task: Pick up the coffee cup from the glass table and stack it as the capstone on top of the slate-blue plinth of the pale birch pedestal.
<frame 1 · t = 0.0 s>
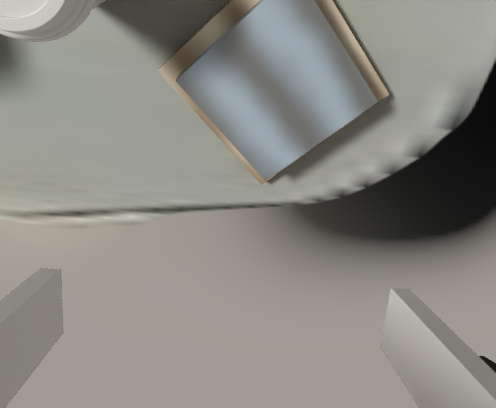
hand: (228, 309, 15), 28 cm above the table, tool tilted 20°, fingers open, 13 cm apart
pedestal: (274, 78, 37), on the table
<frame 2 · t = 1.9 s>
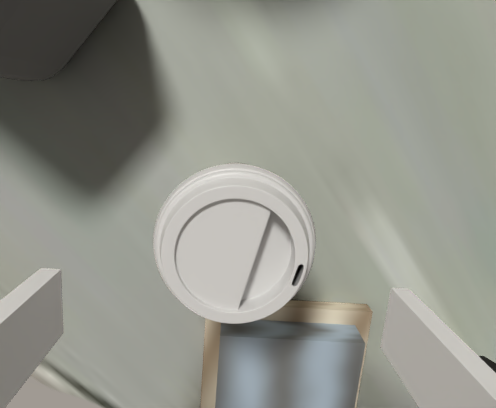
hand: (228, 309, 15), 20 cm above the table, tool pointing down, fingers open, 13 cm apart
coffee cup: (235, 196, 35), on the table
pedestal: (280, 369, 39), on the table
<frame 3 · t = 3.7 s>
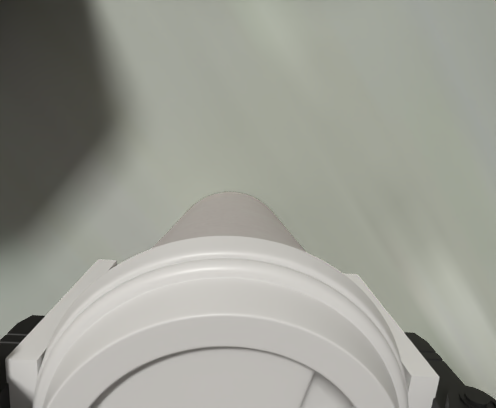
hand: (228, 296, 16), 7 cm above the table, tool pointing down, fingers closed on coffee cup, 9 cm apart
coffee cup: (229, 243, 23), on the table, touching gripper
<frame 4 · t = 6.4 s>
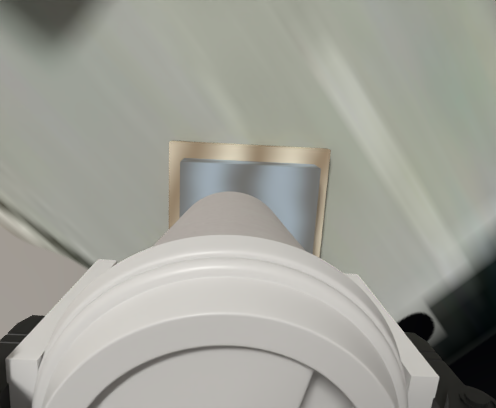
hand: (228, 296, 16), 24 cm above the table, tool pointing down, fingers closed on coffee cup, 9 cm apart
coffee cup: (229, 243, 23), point 17 cm above the table, touching gripper
pedestal: (246, 219, 40), on the table
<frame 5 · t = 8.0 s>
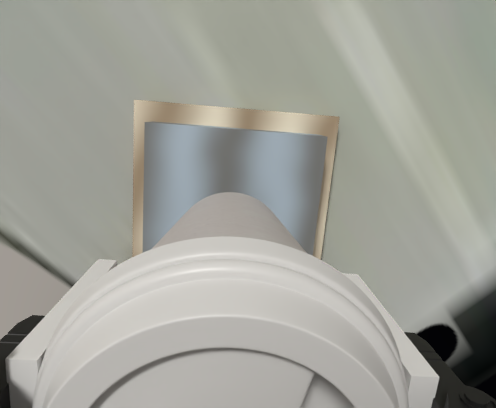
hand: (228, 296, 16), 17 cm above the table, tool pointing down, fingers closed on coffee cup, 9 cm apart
coffee cup: (229, 243, 23), point 10 cm above the table, touching gripper
pedestal: (231, 203, 32), on the table
when the fingers open (12 cm above the table, at t = 9.3 s): coffee cup drops 1 cm, resting on pedestal.
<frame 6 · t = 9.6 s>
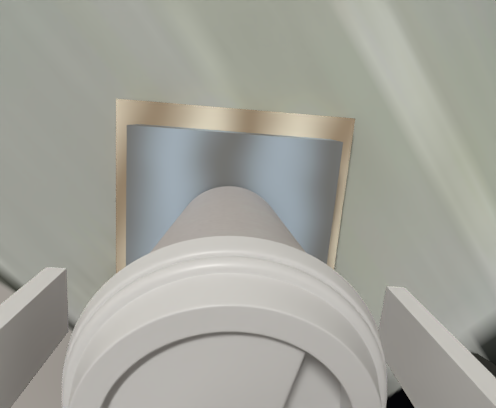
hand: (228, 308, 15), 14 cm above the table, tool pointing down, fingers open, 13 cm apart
coffee cup: (228, 234, 24), point 4 cm above the table, touching pedestal
pedestal: (229, 218, 28), on the table
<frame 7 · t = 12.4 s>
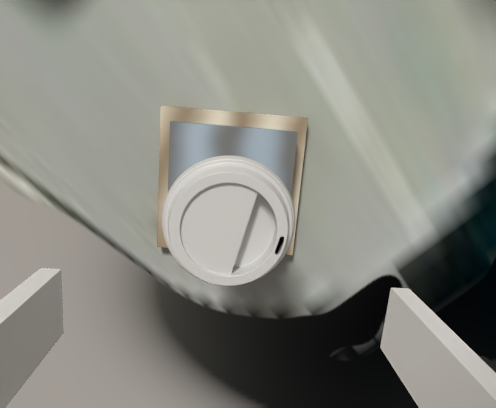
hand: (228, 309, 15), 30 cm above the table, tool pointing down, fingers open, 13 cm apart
coffee cup: (229, 188, 40), point 4 cm above the table, touching pedestal
pedestal: (230, 182, 44), on the table
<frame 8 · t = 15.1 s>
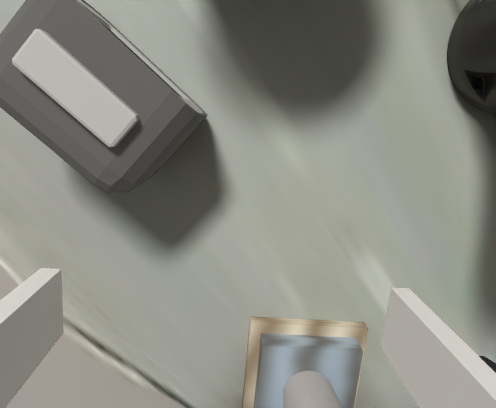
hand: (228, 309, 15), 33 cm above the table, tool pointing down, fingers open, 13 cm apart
coffee cup: (306, 390, 49), point 4 cm above the table, touching pedestal
pedestal: (301, 370, 54), on the table
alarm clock: (125, 103, 44), on the table
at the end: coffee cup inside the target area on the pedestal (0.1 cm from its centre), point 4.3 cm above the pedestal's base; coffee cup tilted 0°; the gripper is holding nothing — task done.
